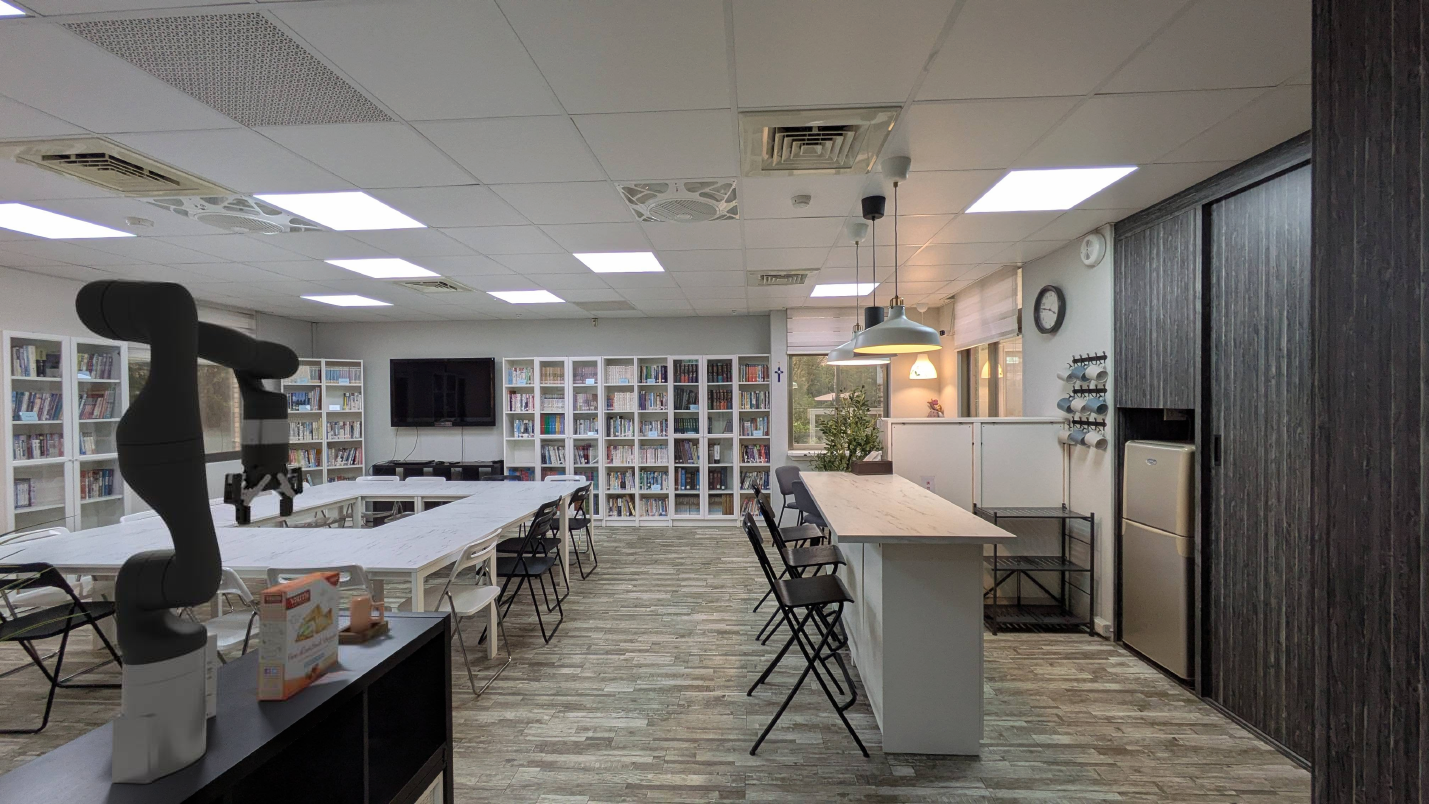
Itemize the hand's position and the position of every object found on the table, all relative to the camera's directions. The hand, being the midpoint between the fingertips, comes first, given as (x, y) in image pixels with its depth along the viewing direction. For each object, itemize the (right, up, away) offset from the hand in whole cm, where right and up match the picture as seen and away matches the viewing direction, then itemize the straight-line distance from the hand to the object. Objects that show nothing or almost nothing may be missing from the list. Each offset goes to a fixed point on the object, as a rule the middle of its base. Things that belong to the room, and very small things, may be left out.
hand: (265, 520), depth 106 cm
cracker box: (+8, -34, -1) cm, 34 cm away
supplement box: (-4, -33, -15) cm, 37 cm away
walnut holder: (+6, -34, +20) cm, 40 cm away
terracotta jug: (+7, -33, +20) cm, 39 cm away
